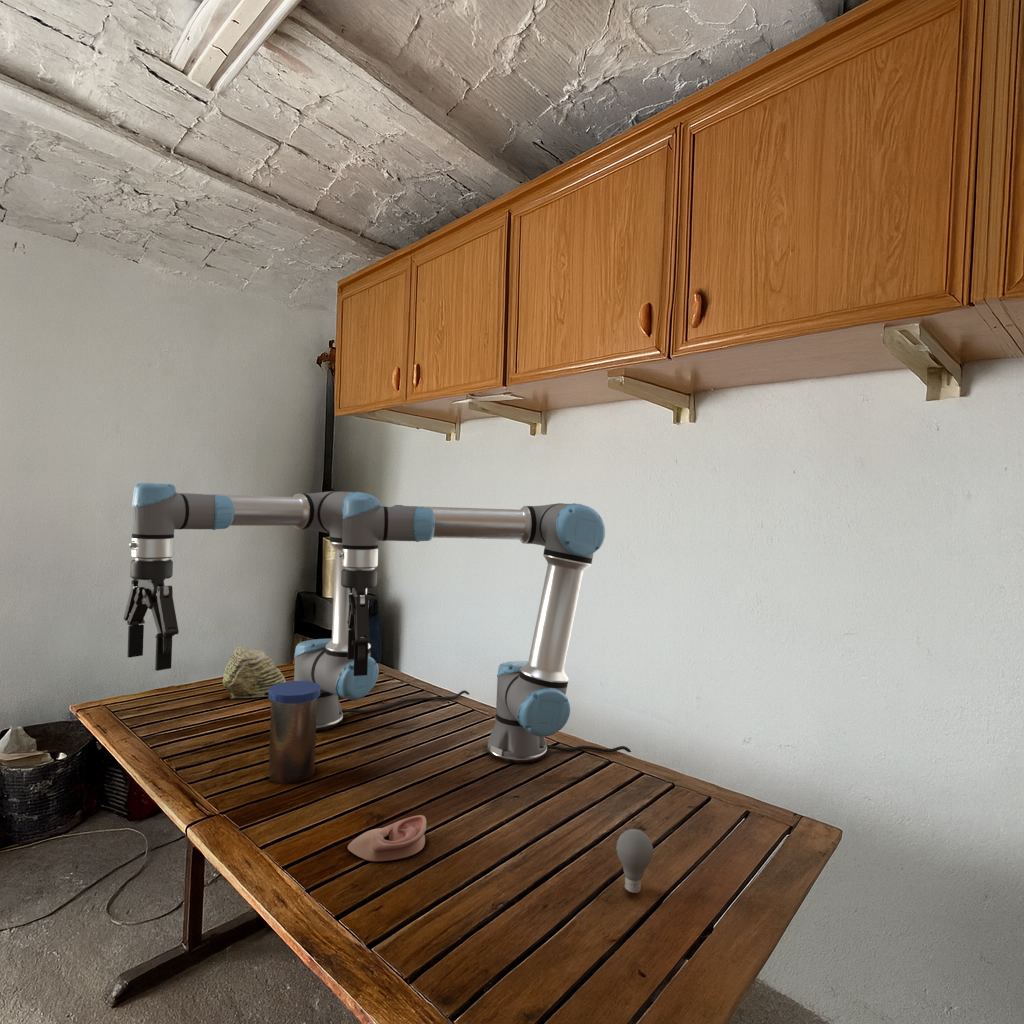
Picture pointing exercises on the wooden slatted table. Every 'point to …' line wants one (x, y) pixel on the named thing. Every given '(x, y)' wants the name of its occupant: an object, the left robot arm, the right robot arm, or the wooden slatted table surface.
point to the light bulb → (634, 857)
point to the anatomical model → (391, 840)
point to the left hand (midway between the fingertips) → (148, 662)
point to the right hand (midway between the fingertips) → (357, 666)
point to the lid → (294, 692)
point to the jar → (292, 741)
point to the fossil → (250, 673)
